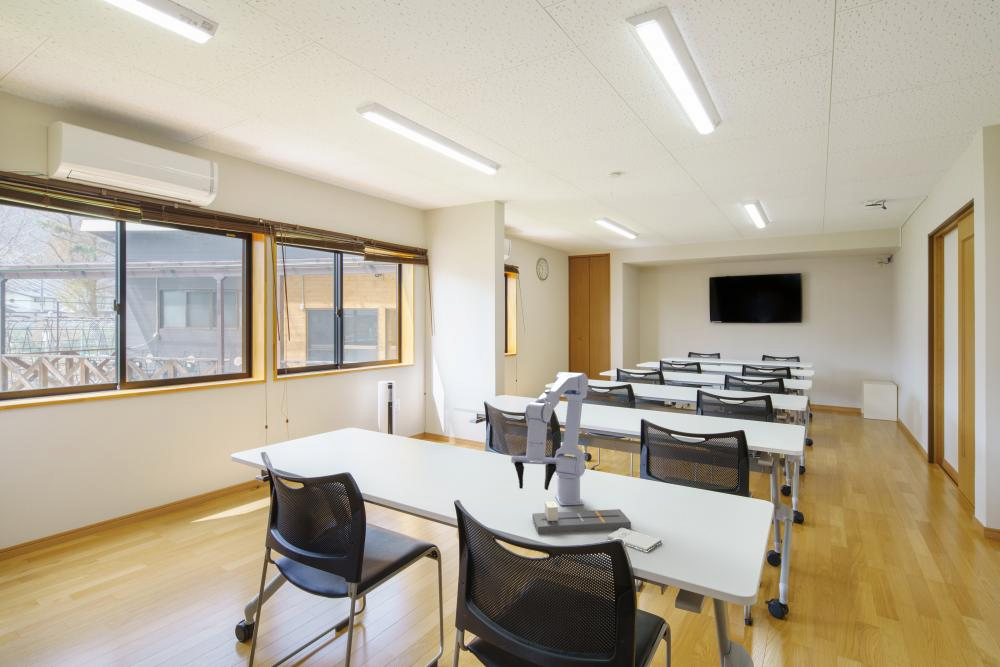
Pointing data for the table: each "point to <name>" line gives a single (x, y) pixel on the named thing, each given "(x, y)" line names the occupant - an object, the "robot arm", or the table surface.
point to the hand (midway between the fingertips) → (533, 488)
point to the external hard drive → (635, 539)
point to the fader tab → (551, 511)
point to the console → (582, 521)
